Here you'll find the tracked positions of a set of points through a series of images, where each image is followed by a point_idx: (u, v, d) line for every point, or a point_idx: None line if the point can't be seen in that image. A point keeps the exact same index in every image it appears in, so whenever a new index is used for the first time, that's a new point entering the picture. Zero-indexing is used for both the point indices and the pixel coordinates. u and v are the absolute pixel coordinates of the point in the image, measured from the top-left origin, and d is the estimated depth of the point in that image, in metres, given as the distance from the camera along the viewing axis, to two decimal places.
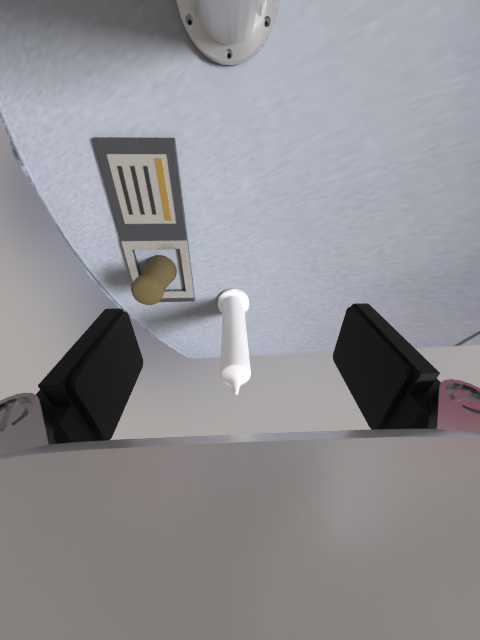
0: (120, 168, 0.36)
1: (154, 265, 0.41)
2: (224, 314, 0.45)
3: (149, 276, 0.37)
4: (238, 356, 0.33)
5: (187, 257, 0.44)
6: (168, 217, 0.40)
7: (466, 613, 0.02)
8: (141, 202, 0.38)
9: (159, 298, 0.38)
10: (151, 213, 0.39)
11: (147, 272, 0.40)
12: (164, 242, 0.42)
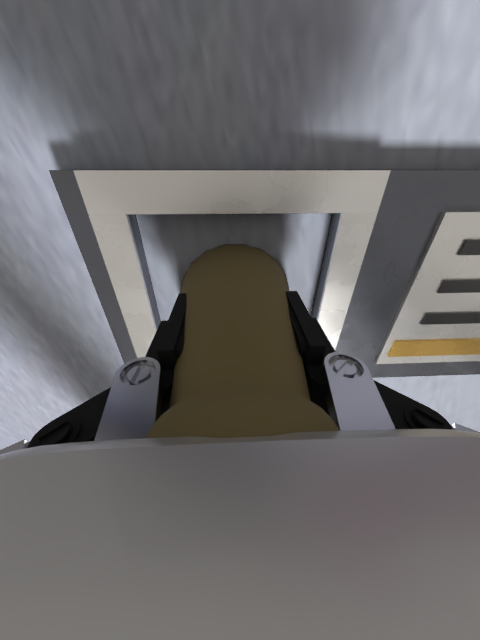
0: None
1: None
2: None
3: None
4: None
5: None
6: (399, 351, 0.14)
7: (466, 613, 0.02)
8: (471, 290, 0.12)
9: None
10: (430, 311, 0.13)
11: (307, 386, 0.07)
12: (334, 332, 0.13)
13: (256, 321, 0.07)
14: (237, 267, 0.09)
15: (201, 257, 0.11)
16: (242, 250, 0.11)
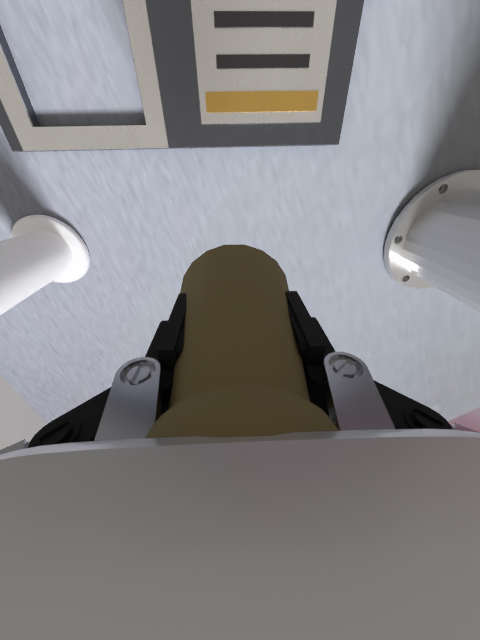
0: None
1: None
2: (6, 252, 0.18)
3: None
4: None
5: (129, 144, 0.19)
6: (212, 104, 0.18)
7: (465, 613, 0.02)
8: (241, 26, 0.16)
9: None
10: (219, 52, 0.17)
11: (306, 387, 0.07)
12: (152, 78, 0.17)
13: (256, 322, 0.07)
14: (237, 267, 0.09)
15: (201, 257, 0.11)
16: (242, 250, 0.11)
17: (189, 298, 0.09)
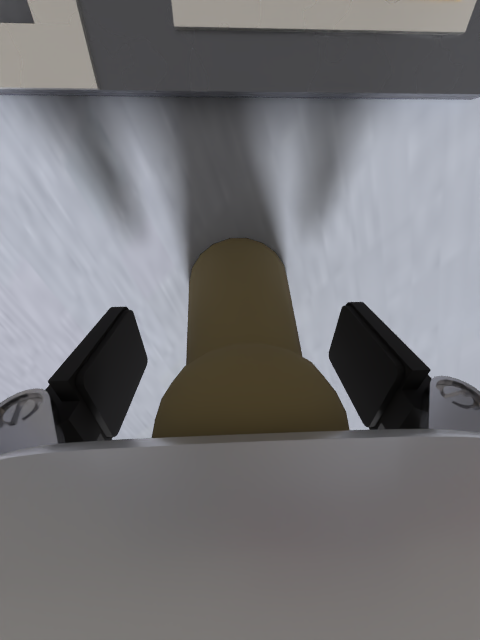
0: None
1: None
2: None
3: None
4: None
5: (3, 77, 0.08)
6: None
7: (465, 613, 0.02)
8: None
9: None
10: None
11: None
12: None
13: (258, 300, 0.08)
14: (241, 257, 0.11)
15: (208, 250, 0.12)
16: (245, 243, 0.12)
17: (199, 284, 0.10)
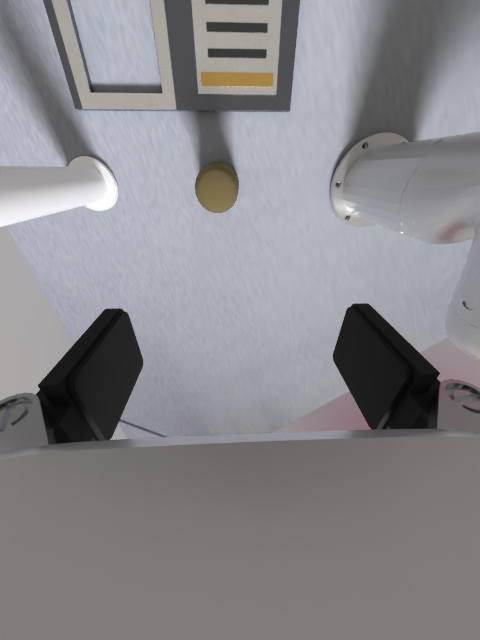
0: (265, 1, 0.25)
1: None
2: (71, 170, 0.28)
3: (236, 196, 0.28)
4: (1, 205, 0.18)
5: (151, 106, 0.29)
6: (205, 80, 0.28)
7: (466, 612, 0.02)
8: (223, 31, 0.26)
9: (208, 208, 0.28)
10: (209, 47, 0.27)
11: None
12: (168, 62, 0.27)
13: None
14: (218, 163, 0.32)
15: None
16: (220, 162, 0.33)
17: None
